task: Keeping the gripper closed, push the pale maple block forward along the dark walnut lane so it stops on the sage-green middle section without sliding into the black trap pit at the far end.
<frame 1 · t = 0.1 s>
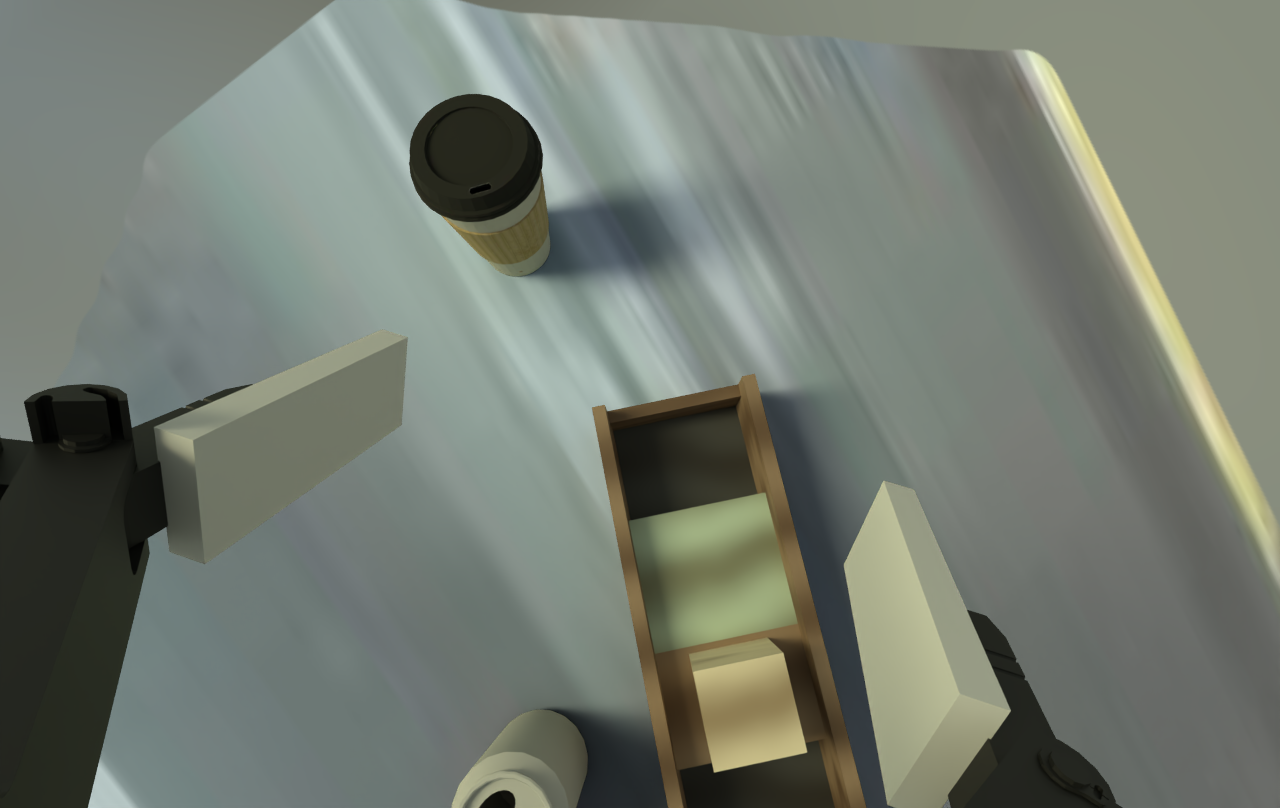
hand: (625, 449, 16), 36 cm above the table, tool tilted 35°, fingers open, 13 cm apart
can: (542, 756, 47), on the table
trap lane: (718, 617, 49), on the table
maple block: (737, 688, 44), point 4 cm above the table, touching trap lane
coffee cup: (518, 247, 57), on the table
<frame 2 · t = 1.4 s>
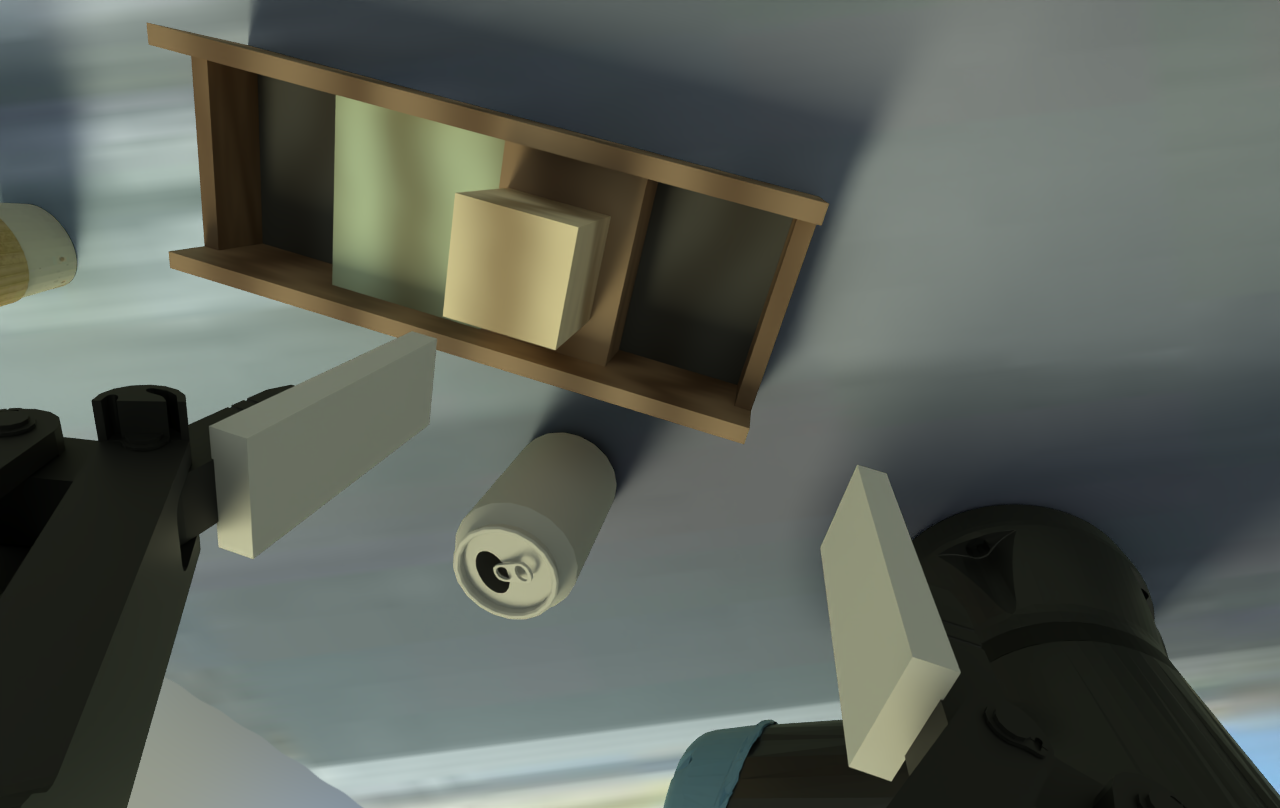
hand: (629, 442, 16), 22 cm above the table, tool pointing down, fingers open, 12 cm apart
can: (570, 472, 44), on the table
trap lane: (504, 228, 38), on the table
maple block: (549, 256, 34), point 4 cm above the table, touching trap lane
coffee cup: (44, 245, 46), on the table
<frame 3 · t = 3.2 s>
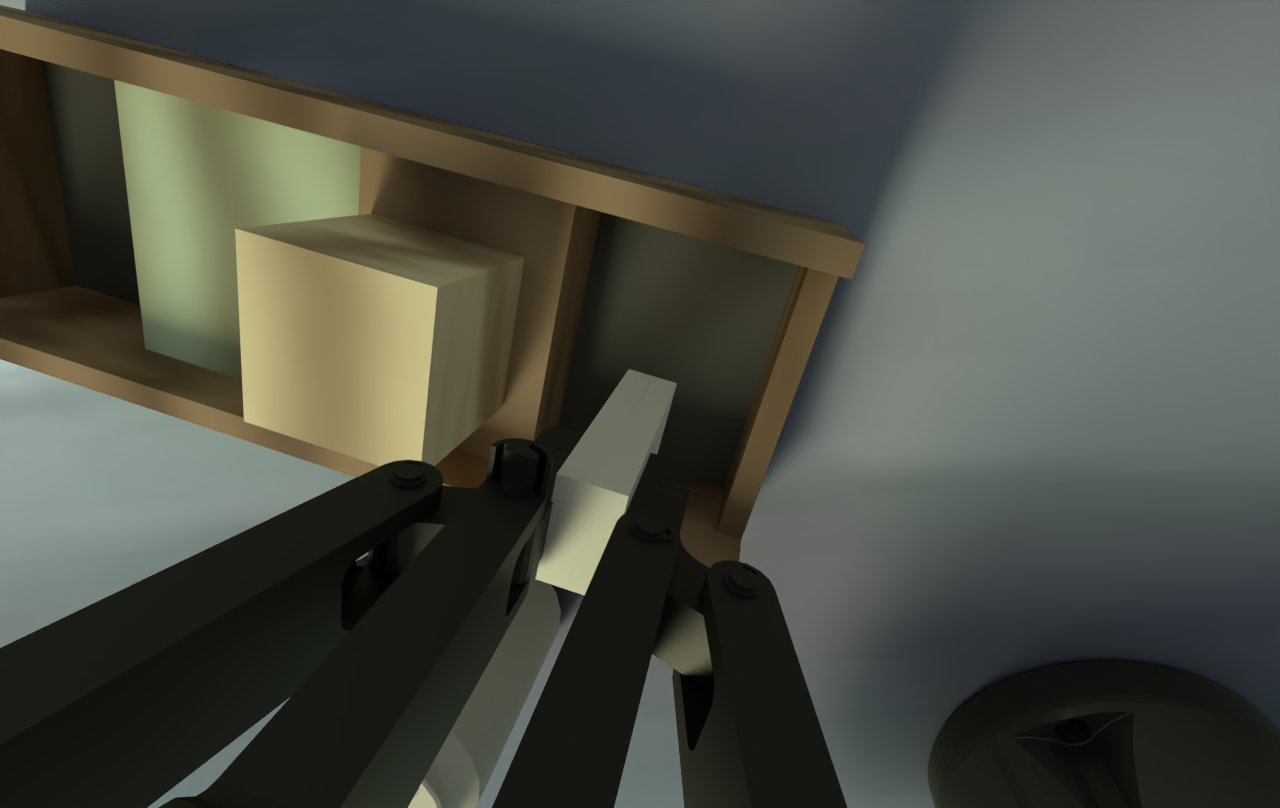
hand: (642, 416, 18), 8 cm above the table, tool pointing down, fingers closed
can: (502, 588, 32), on the table
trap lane: (392, 267, 27), on the table
maple block: (439, 314, 23), point 4 cm above the table, touching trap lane
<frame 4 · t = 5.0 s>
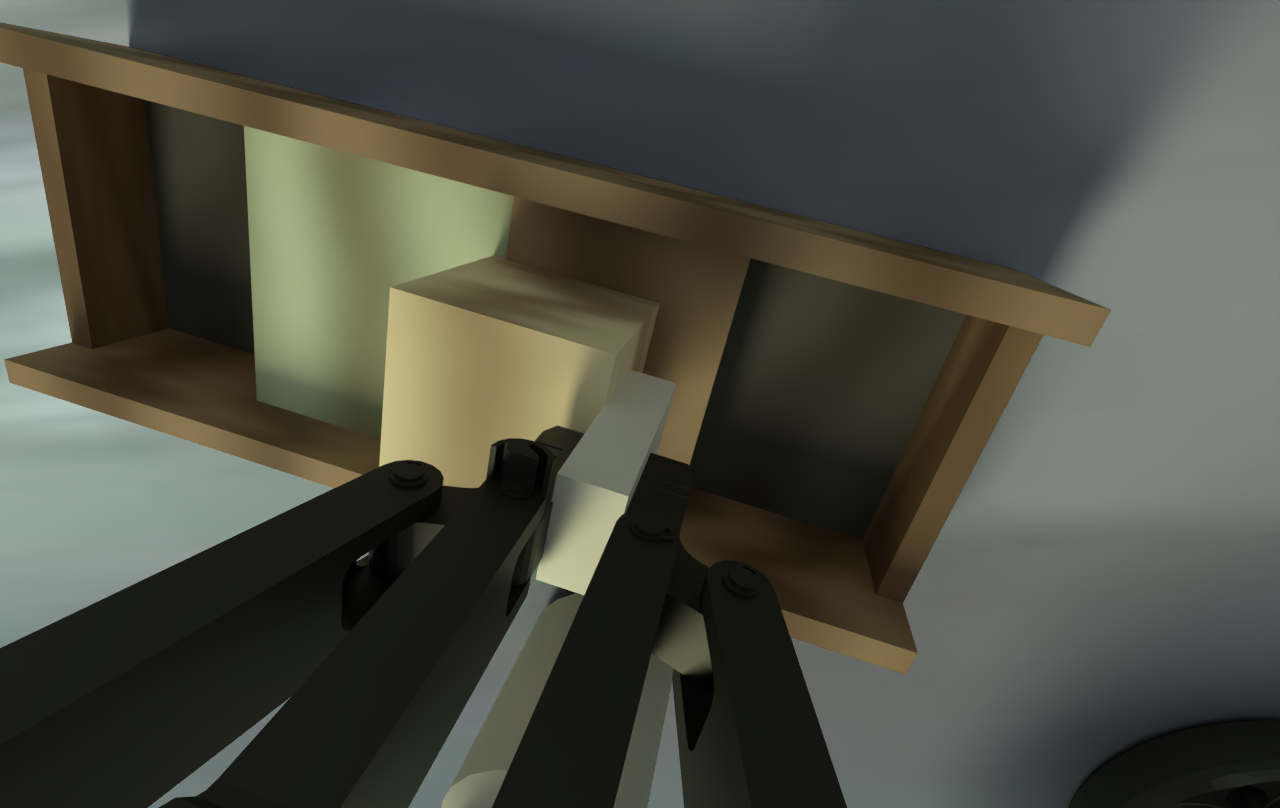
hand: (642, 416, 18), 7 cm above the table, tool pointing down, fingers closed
can: (607, 637, 31), on the table
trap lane: (513, 310, 25), on the table
maple block: (559, 360, 21), point 4 cm above the table, touching gripper
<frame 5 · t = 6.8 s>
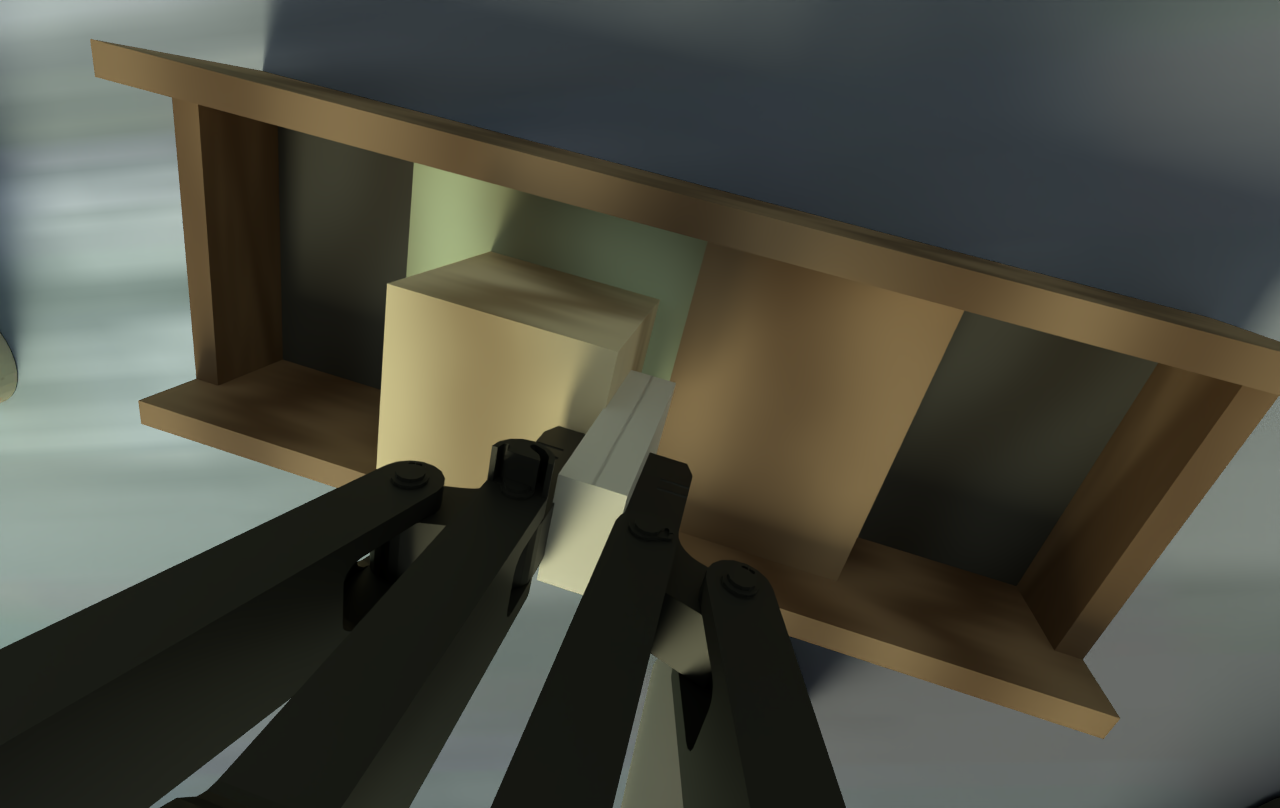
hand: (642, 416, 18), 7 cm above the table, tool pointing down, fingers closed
can: (725, 676, 30), on the table
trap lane: (659, 349, 24), on the table
maple block: (558, 357, 21), point 4 cm above the table, touching gripper, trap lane
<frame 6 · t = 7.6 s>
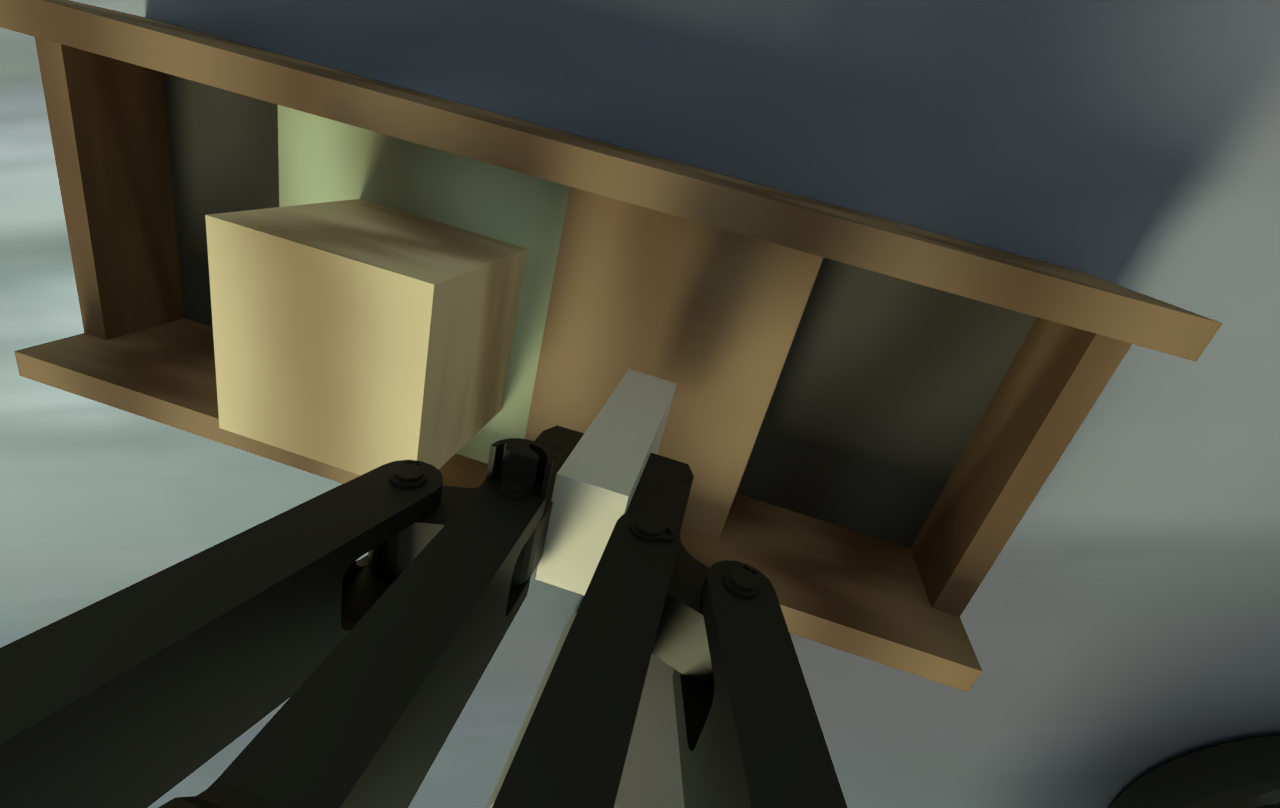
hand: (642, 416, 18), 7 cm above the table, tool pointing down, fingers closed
can: (637, 641, 30), on the table
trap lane: (552, 306, 24), on the table
maple block: (434, 309, 21), point 4 cm above the table, touching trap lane
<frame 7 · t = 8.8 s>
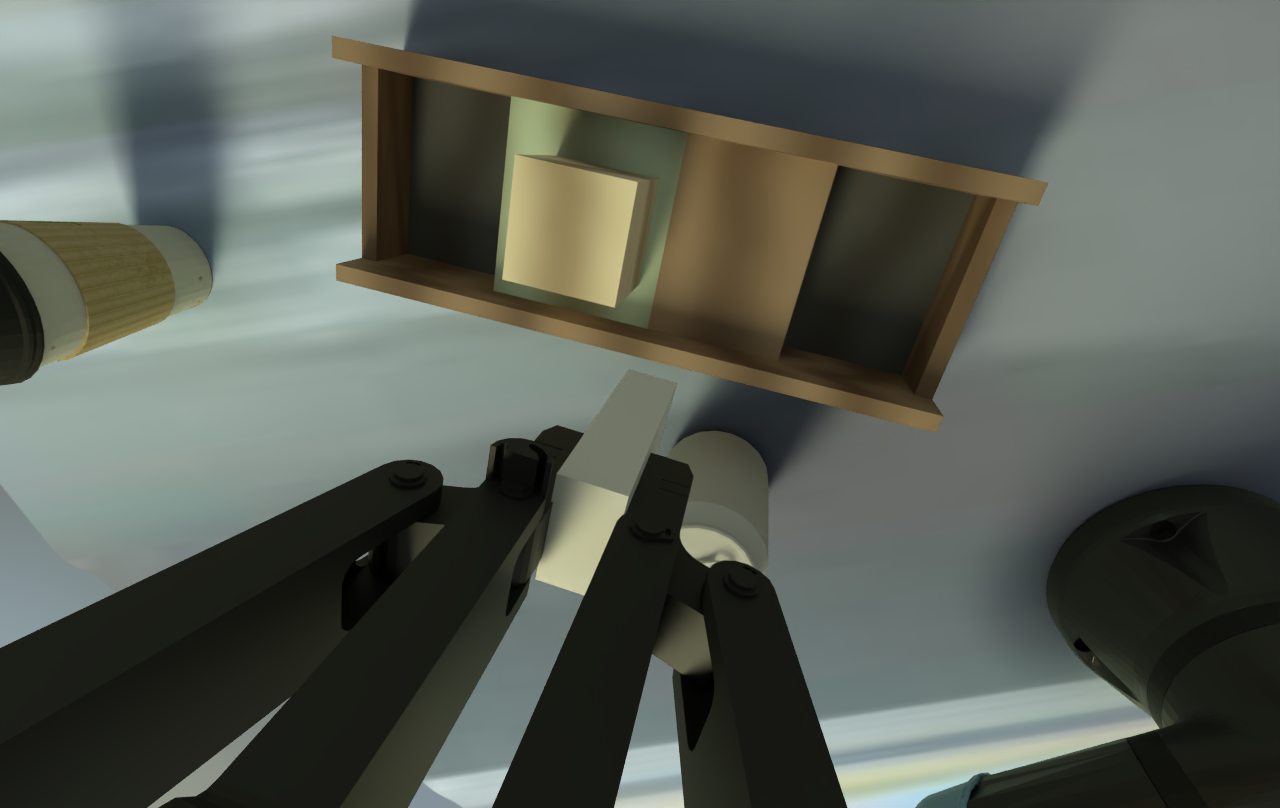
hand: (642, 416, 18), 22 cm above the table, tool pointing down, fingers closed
can: (716, 471, 43), on the table
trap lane: (661, 226, 37), on the table
maple block: (598, 222, 34), point 4 cm above the table, touching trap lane
coffee cup: (178, 266, 46), on the table
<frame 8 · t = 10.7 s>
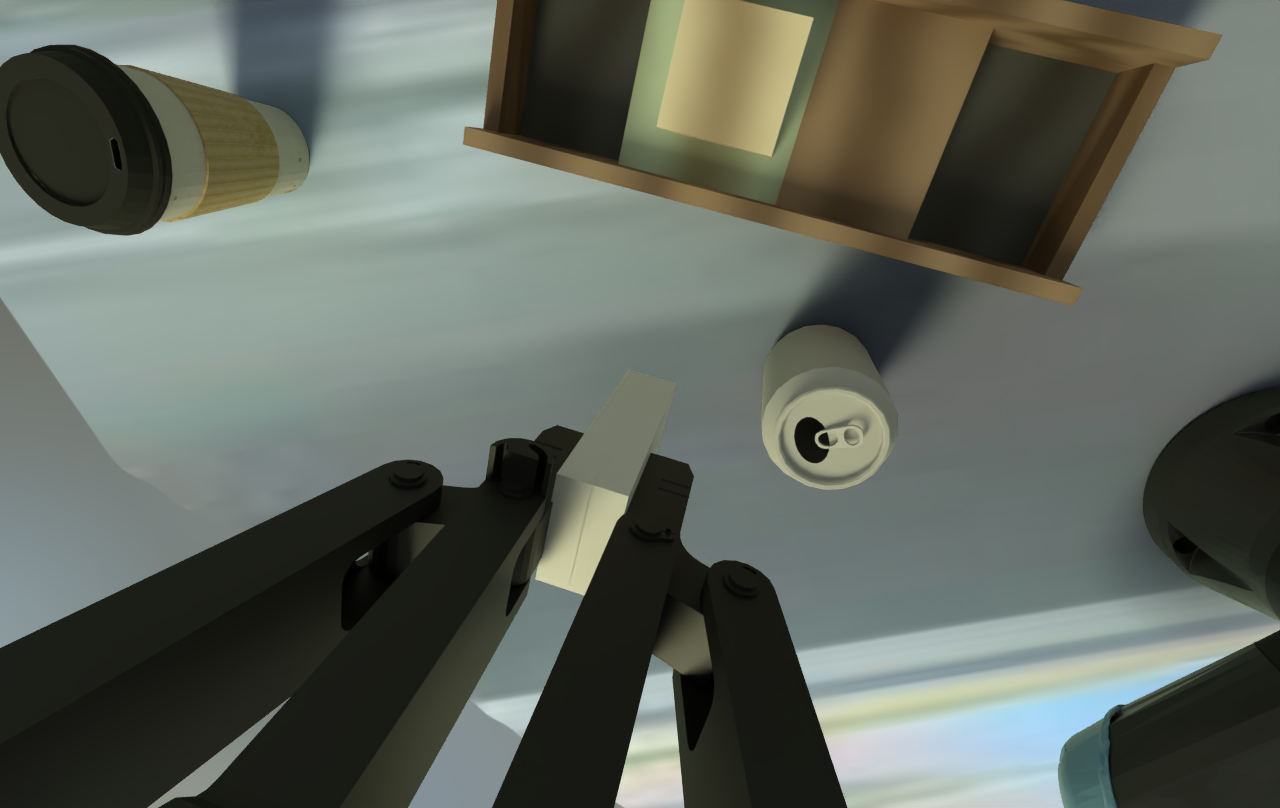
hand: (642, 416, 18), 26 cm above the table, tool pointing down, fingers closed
can: (815, 370, 43), on the table
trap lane: (787, 107, 37), on the table
maple block: (737, 89, 34), point 4 cm above the table, touching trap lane
coffee cup: (274, 150, 45), on the table
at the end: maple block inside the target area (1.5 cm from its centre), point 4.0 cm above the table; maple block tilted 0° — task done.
